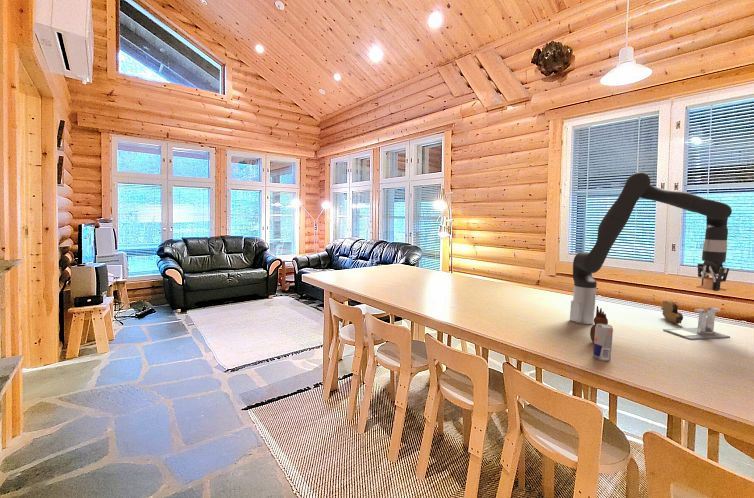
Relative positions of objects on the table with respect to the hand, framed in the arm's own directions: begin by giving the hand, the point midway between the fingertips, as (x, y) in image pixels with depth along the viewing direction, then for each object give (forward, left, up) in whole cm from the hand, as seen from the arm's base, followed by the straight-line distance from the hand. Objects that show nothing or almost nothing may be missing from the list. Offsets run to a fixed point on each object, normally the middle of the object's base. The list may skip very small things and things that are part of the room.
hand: (710, 289), depth 158 cm
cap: (0, 0, 0) cm, 0 cm away
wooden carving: (+2, +18, -20) cm, 27 cm away
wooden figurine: (-57, -5, -20) cm, 61 cm away
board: (-5, 0, -20) cm, 20 cm away
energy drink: (-67, -18, -20) cm, 72 cm away
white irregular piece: (0, 0, -20) cm, 20 cm away
